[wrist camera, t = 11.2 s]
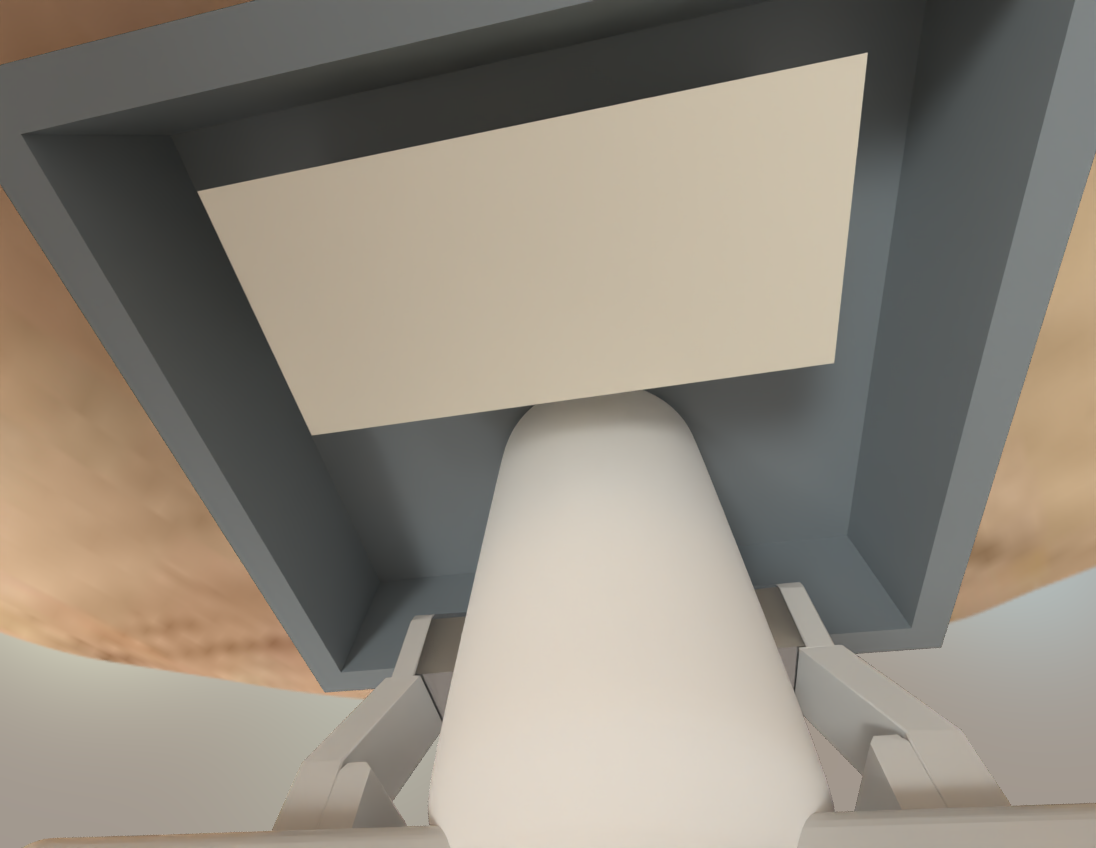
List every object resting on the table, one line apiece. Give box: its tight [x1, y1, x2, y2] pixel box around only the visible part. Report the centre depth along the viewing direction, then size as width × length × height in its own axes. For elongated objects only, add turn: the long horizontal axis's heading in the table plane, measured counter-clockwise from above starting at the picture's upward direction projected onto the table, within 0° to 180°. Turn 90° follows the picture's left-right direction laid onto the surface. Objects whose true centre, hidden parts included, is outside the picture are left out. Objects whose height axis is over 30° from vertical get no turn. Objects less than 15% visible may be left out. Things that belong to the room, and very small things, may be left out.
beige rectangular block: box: [197, 53, 868, 435], centre depth 11 cm, size 5×11×5 cm, turn 100°
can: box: [428, 390, 834, 848], centre depth 12 cm, size 6×6×12 cm
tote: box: [0, 0, 1096, 692], centre depth 14 cm, size 18×20×5 cm
